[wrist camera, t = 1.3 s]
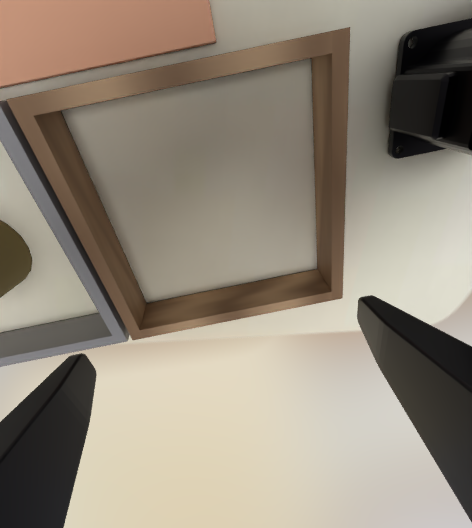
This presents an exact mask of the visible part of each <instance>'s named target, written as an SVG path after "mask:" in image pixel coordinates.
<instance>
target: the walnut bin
mask: <svg viewBox="0 0 472 528" xmlns="http://www.w3.org/2000/svg"><path fill="white" fill-rule="evenodd" d="M349 50H350V27H349V28H344V29H339V30H335V31H330V32H325V33H320V34H316V35H311V36H306V37H301V38H297V39H292V40H287V41H282V42H278V43H273V44H268V45H263V46H259V47H254V48H249V49H244V50H240V51H235V52H230V53H225V54H220V55H216V56H211V57H206V58H201V59H197V60H192V61H187V62H182V63H178V64H173V65H168V66H163V67H159V68H154V69H149V70H144V71H140V72H135V73H130V74H125V75H121V76H116V77H111V78H106V79H102V80H97V81H92V82H87V83H83V84H78V85H73V86H68V87H64V88H59V89H54V90H49V91H45V92H40V93H35V94H30V95H26V96H21V97H16V98H11V99H7V102H8V104H9V106H10V108H11V110H12V112H13V114H14V116H15V118H16V119H17V121H18V123H19V125H20V127H21V129H22V131H23V133H24V135H25V136H26V138H27V140H28V142H29V144H30V146H31V148H32V150H33V152H34V154H35V155H36V157H37V159H38V161H39V163H40V165H41V167H42V169H43V171H44V173H45V174H46V176H47V178H48V180H49V182H50V184H51V186H52V188H53V190H54V192H55V193H56V195H57V197H58V199H59V201H60V203H61V205H62V207H63V209H64V211H65V212H66V214H67V216H68V218H69V220H70V222H71V224H72V226H73V228H74V229H75V231H76V233H77V235H78V237H79V239H80V241H81V243H82V245H83V247H84V248H85V250H86V252H87V254H88V256H89V258H90V260H91V262H92V264H93V266H94V267H95V269H96V271H97V273H98V275H99V277H100V279H101V281H102V283H103V285H104V286H105V288H106V290H107V292H108V294H109V296H110V298H111V300H112V302H113V304H114V305H115V307H116V309H117V311H118V313H119V315H120V317H121V319H122V321H123V322H124V324H125V326H126V328H127V330H128V332H129V334H130V336H131V338H132V340H136V339H141V338H146V337H151V336H156V335H161V334H166V333H171V332H176V331H181V330H186V329H191V328H196V327H201V326H206V325H211V324H216V323H221V322H226V321H231V320H236V319H241V318H246V317H251V316H256V315H261V314H266V313H271V312H276V311H281V310H286V309H291V308H296V307H301V306H306V305H311V304H316V303H321V302H326V301H331V300H336V299H341V298H342V295H343V260H344V225H345V190H346V155H347V120H348V85H349ZM309 58H311V62H312V96H313V131H314V165H315V199H316V234H317V268H318V269H316V270H311V271H306V272H301V273H296V274H291V275H286V276H281V277H276V278H271V279H266V280H261V281H256V282H251V283H246V284H241V285H236V286H231V287H226V288H221V289H216V290H211V291H207V292H202V293H197V294H192V295H187V296H182V297H177V298H172V299H167V300H162V301H157V302H152V303H147V304H146V301H145V299H144V297H143V295H142V292H141V290H140V288H139V286H138V283H137V281H136V279H135V277H134V274H133V272H132V270H131V268H130V266H129V263H128V261H127V259H126V257H125V254H124V252H123V250H122V248H121V245H120V243H119V241H118V239H117V236H116V234H115V232H114V230H113V227H112V225H111V223H110V221H109V219H108V216H107V214H106V212H105V210H104V207H103V205H102V203H101V201H100V198H99V196H98V194H97V192H96V189H95V187H94V185H93V183H92V180H91V178H90V176H89V174H88V172H87V169H86V167H85V165H84V163H83V160H82V158H81V156H80V154H79V151H78V149H77V147H76V145H75V142H74V140H73V138H72V136H71V133H70V131H69V129H68V127H67V125H66V122H65V120H64V118H63V116H62V113H61V110H65V109H70V108H75V107H80V106H85V105H89V104H94V103H99V102H104V101H108V100H113V99H118V98H123V97H128V96H132V95H137V94H142V93H147V92H151V91H156V90H161V89H166V88H171V87H175V86H180V85H185V84H190V83H194V82H199V81H204V80H209V79H213V78H218V77H223V76H228V75H233V74H237V73H242V72H247V71H252V70H256V69H261V68H266V67H271V66H276V65H280V64H285V63H290V62H295V61H299V60H304V59H309Z"/></svg>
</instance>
